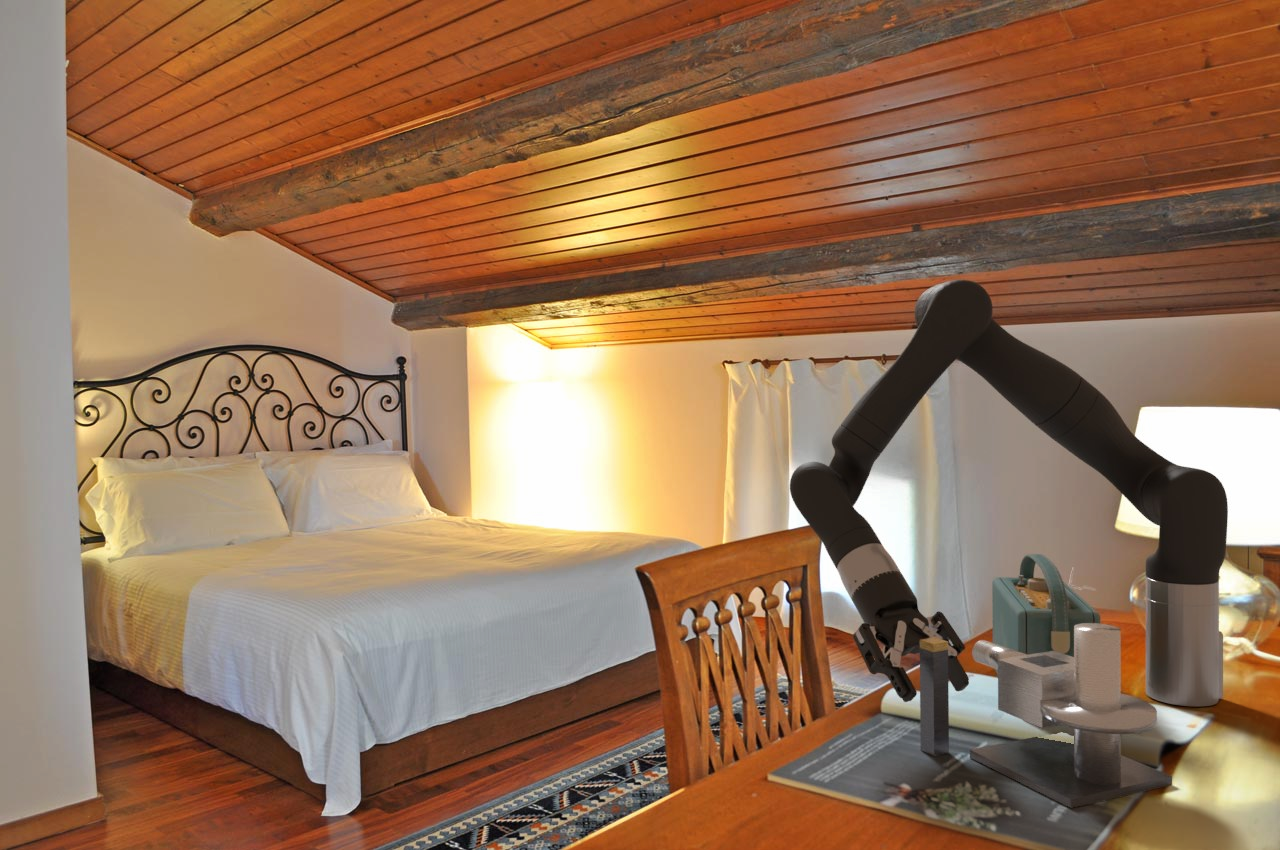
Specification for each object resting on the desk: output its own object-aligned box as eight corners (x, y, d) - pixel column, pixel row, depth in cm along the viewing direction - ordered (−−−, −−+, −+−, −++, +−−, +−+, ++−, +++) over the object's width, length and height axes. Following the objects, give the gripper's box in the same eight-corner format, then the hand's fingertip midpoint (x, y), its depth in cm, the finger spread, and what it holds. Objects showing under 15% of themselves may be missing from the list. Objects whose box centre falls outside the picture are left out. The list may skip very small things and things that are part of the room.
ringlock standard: (1026, 723, 133) (1026, 590, 133) (1191, 793, 110) (1192, 632, 109) (935, 740, 128) (934, 601, 127) (1089, 817, 105) (1088, 648, 104)
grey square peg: (935, 746, 126) (934, 637, 125) (948, 752, 124) (948, 641, 123) (920, 750, 125) (919, 639, 124) (934, 756, 123) (933, 644, 122)
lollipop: (1088, 638, 176) (1088, 571, 176) (1035, 629, 183) (1035, 565, 182) (1101, 631, 180) (1101, 566, 180) (1049, 623, 187) (1049, 560, 187)
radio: (1104, 725, 132) (1104, 576, 132) (1019, 721, 135) (1018, 574, 134) (1062, 669, 158) (1062, 544, 157) (991, 667, 160) (990, 544, 159)
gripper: (845, 574, 127) (908, 686, 118) (930, 563, 134) (996, 669, 124) (821, 607, 132) (879, 717, 122) (903, 595, 139) (965, 699, 129)
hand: (938, 693), depth 123 cm, fingers open, 8 cm apart
